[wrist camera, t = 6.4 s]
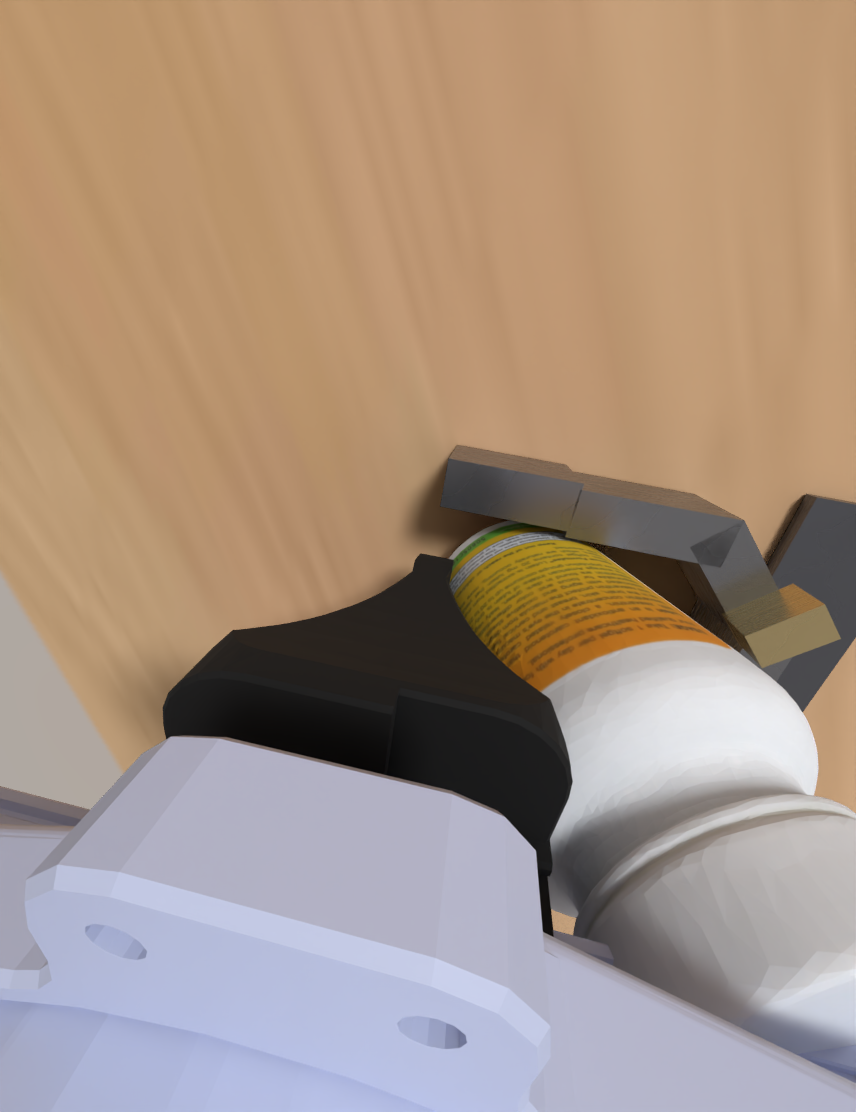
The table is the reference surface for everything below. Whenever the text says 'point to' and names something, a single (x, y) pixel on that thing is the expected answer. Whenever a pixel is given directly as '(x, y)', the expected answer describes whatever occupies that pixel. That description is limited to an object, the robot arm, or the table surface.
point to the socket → (695, 555)
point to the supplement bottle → (676, 791)
